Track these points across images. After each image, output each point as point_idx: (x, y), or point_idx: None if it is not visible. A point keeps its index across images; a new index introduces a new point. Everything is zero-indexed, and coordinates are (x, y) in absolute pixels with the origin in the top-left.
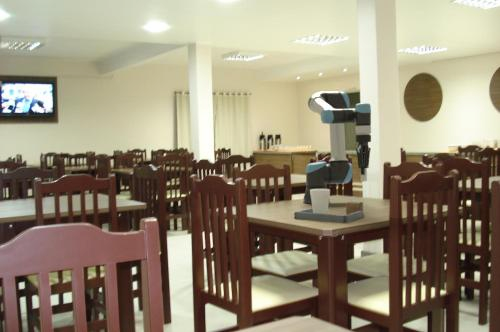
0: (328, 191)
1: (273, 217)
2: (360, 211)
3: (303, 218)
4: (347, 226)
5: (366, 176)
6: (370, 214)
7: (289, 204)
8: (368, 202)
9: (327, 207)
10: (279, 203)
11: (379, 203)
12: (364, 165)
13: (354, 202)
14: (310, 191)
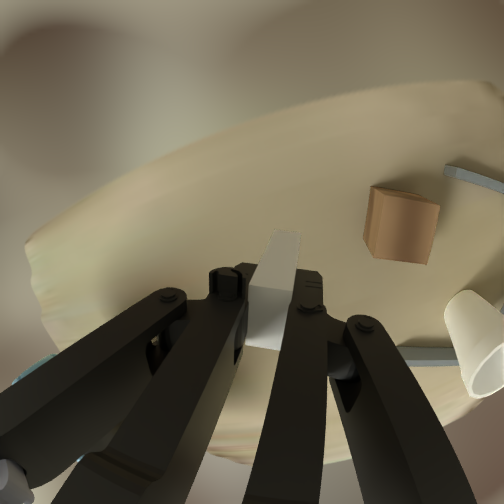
0: None
1: (465, 392)
2: (477, 174)
3: None
4: None
5: (275, 244)
6: (371, 151)
7: (230, 432)
8: (76, 262)
9: (483, 303)
10: (225, 445)
11: (74, 223)
12: (319, 324)
13: (411, 231)
14: (502, 383)
